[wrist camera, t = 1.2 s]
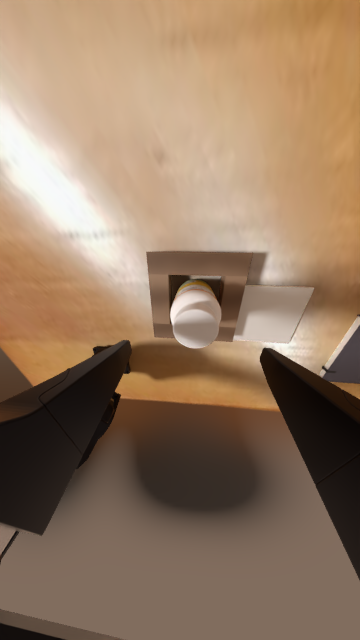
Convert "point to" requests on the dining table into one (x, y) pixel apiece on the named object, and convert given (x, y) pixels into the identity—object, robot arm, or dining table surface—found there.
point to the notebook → (345, 358)
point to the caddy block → (197, 263)
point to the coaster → (271, 312)
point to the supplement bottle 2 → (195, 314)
